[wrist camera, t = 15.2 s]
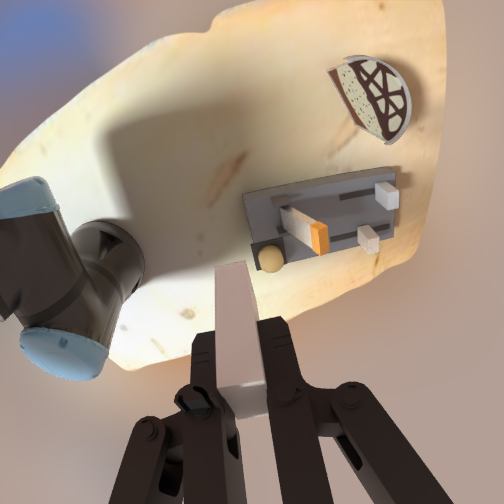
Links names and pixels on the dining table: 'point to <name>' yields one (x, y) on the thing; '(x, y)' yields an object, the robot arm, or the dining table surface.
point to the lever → (305, 229)
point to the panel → (320, 212)
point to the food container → (373, 96)
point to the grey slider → (387, 195)
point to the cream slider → (368, 239)
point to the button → (270, 259)
